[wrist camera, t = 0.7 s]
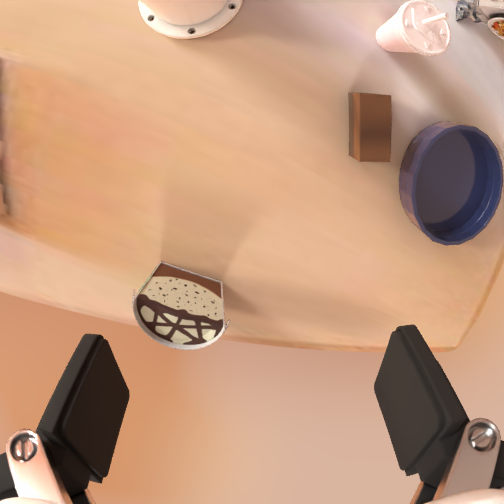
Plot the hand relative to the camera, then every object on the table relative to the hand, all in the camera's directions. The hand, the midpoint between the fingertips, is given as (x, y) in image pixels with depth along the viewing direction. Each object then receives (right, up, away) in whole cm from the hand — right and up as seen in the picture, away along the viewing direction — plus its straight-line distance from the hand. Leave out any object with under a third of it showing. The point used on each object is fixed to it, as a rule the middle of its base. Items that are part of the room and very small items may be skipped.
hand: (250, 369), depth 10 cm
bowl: (+28, +14, +29) cm, 43 cm away
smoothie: (+17, +30, +20) cm, 40 cm away
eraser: (+14, +20, +26) cm, 35 cm away
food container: (-10, -1, +36) cm, 37 cm away
